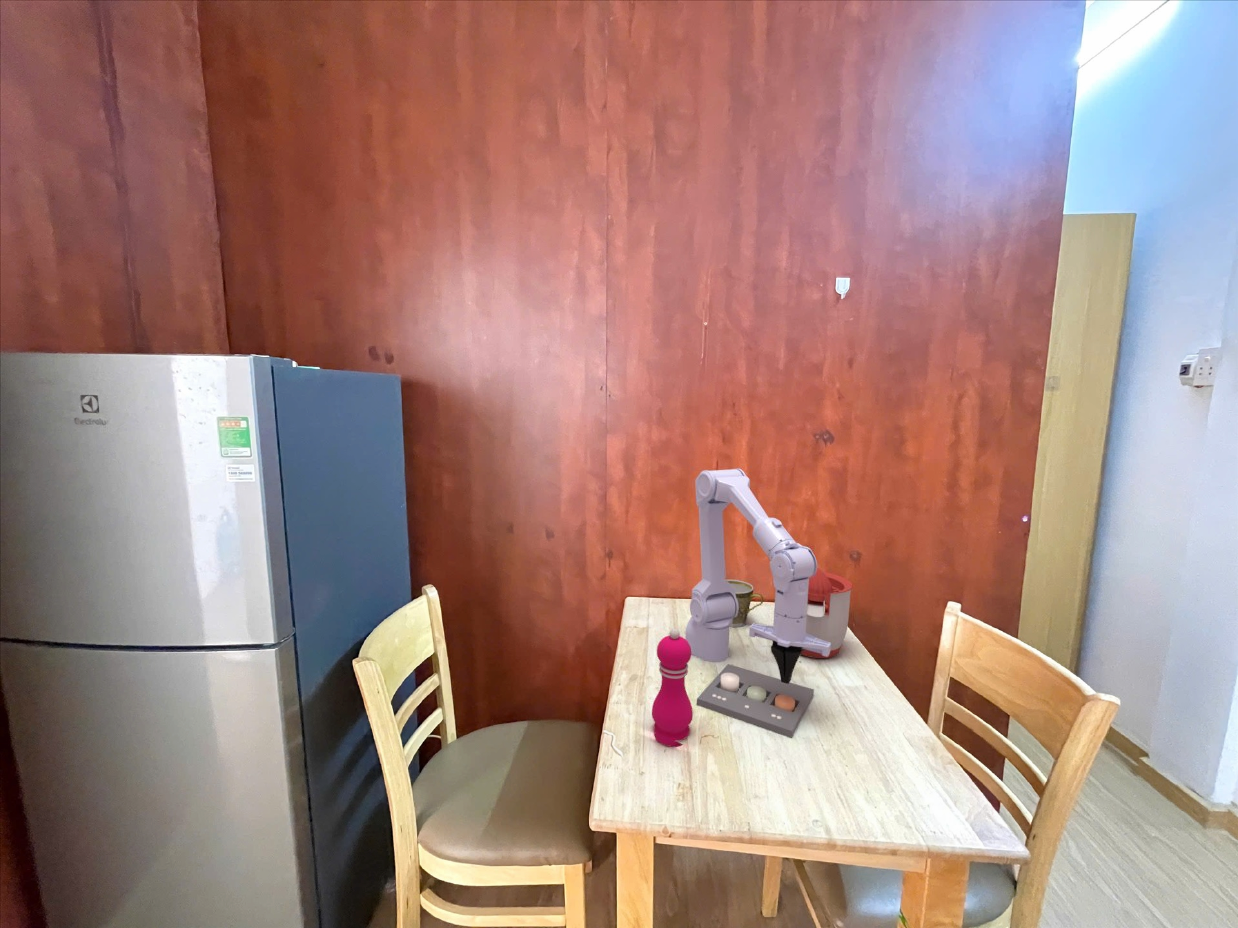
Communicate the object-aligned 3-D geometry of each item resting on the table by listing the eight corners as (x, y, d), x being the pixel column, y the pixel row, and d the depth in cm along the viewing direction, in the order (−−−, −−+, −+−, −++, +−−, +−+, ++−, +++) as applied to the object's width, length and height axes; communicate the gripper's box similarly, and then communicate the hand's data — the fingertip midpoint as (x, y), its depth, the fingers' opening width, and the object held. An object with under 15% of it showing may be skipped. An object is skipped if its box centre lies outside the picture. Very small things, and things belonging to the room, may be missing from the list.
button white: (717, 692, 108) (718, 678, 108) (724, 684, 111) (724, 670, 111) (734, 698, 106) (735, 683, 106) (741, 689, 109) (741, 675, 109)
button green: (743, 706, 105) (744, 692, 105) (750, 698, 108) (750, 684, 108) (762, 712, 103) (762, 698, 103) (767, 703, 106) (768, 689, 106)
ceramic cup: (707, 623, 143) (708, 587, 142) (722, 611, 151) (724, 576, 150) (754, 636, 136) (756, 598, 134) (768, 623, 144) (770, 587, 143)
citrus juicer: (775, 660, 124) (780, 576, 121) (780, 629, 140) (784, 554, 138) (849, 673, 119) (855, 585, 116) (845, 639, 135) (851, 562, 132)
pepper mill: (695, 728, 99) (699, 623, 96) (687, 752, 92) (691, 641, 89) (657, 719, 101) (659, 617, 98) (646, 743, 94) (648, 634, 91)
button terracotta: (771, 716, 102) (772, 701, 102) (777, 707, 105) (778, 692, 105) (791, 722, 100) (792, 707, 100) (796, 713, 103) (797, 698, 103)
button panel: (696, 710, 104) (696, 697, 104) (727, 674, 117) (728, 662, 117) (791, 744, 94) (792, 729, 94) (813, 701, 108) (814, 688, 107)
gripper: (745, 610, 101) (741, 678, 103) (826, 629, 93) (821, 703, 95) (757, 598, 107) (753, 662, 108) (835, 615, 99) (829, 684, 101)
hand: (786, 680), depth 102 cm, fingers closed
